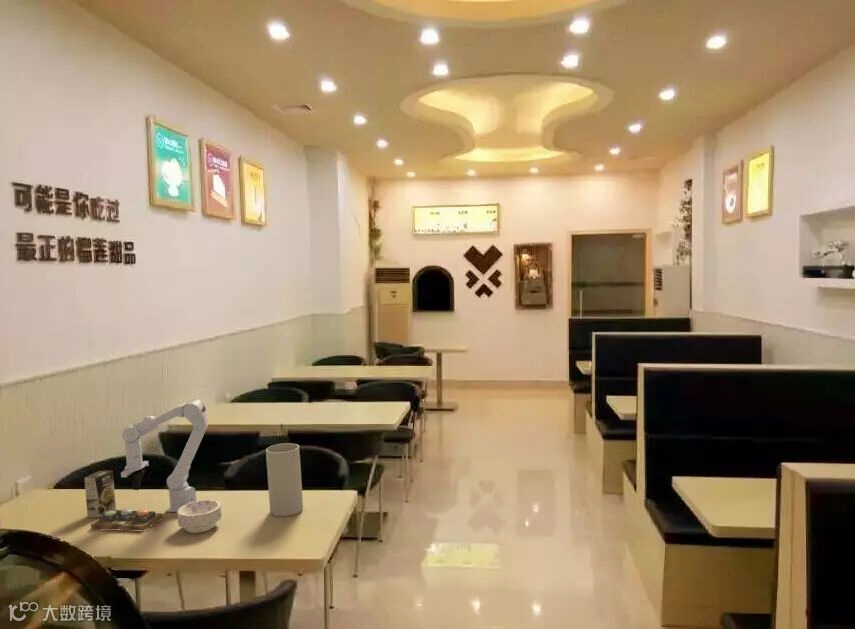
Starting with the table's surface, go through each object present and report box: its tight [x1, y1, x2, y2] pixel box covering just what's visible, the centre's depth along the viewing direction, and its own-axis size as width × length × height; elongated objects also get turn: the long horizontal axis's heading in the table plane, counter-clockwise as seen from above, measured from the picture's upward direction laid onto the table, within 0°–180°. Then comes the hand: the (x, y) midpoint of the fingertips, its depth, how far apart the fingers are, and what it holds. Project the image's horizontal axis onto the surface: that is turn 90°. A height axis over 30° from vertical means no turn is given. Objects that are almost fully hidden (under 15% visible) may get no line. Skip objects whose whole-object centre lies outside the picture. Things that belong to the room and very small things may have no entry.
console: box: [90, 509, 164, 532], centre depth 246 cm, size 22×12×4 cm, turn 79°
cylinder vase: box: [265, 442, 304, 518], centre depth 250 cm, size 12×12×25 cm
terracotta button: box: [137, 508, 150, 517], centre depth 244 cm, size 4×4×2 cm
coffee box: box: [84, 470, 117, 519], centre depth 258 cm, size 9×6×16 cm
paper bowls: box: [176, 499, 223, 534], centre depth 239 cm, size 15×15×8 cm
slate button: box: [121, 508, 134, 516], centre depth 246 cm, size 4×4×2 cm
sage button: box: [105, 511, 116, 516], centre depth 247 cm, size 4×4×2 cm
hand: (136, 489), depth 257 cm, fingers closed
